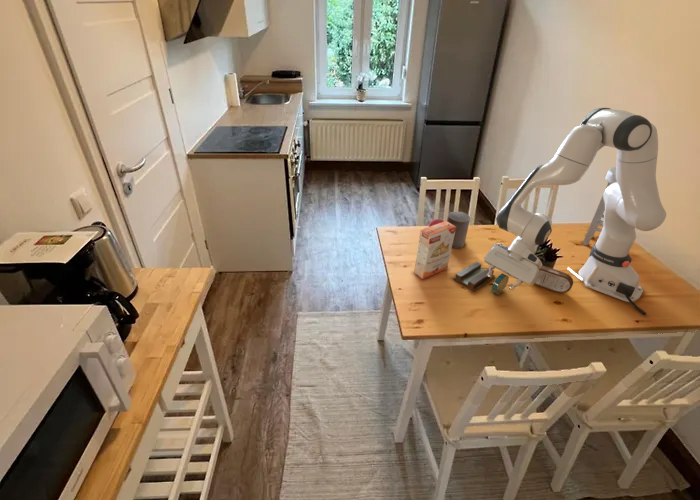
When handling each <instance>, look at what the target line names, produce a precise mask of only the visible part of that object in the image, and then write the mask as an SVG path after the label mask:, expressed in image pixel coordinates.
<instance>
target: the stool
mask: <svg viewBox="0 0 700 500" xmlns="http://www.w3.org/2000/svg"><path fill="white" fill-rule="evenodd" d="M604 179H605V181H607V185H606V187H605V189H606V188H607V187H608V186H609V185H611V184H612V183H615V182H617V180H616V166H613V167H610V168H609V169H608V170H607V173H606V175H605V177H604ZM604 214H605V202H604V198H603V195H602V196H601V199H600V200H599V203H598V205H597V208H596V210H595V213H594V215H593V217H592V219H591V221H590V225H589V227H588V229H587V231H586V234H585V236H584V239H583V241H582V243H581V244H582V245H583V246H588V245H589V244H590V241H591V239H593V238H594V236H595V234H596V232H600V233H601V231H602V228H600V227H599V226H601V227H603V223H604V220H602V218H603V219H604Z"/></svg>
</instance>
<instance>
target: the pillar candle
mask: <svg viewBox="0 0 700 500" xmlns="http://www.w3.org/2000/svg"><path fill="white" fill-rule="evenodd" d="M470 220H471V216H470V215H469V214H467V213H466V212H463V211H451V212H449V213H448V215H447V218H446V221H447V222H449V223H451V224H452V225H454V226H456V231H455V235H454V240H453V244H452V248H454V249H460V248H462V247H464V246H465V244H466V238H467V235H468V232H469V231H468V229H469V225H470V222H471V221H470Z"/></svg>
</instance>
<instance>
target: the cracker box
mask: <svg viewBox="0 0 700 500" xmlns="http://www.w3.org/2000/svg"><path fill="white" fill-rule="evenodd" d="M455 231H456V226H454V225H452V224H451V223H449V222H447V220H444V222H442V223H439V224H436V225H433V226H430V227H429V226H428V227H424V228H421V229H420V232H419V239H418V245H417V251H416V258H415V264H414V271H413V273H414V274H415V275H417V277H419V278H420V279H422V280H425V279H428V278H429V277H432V276H434V275H436V274H439V273H441V272H444V271H446V270H447V269H448V266H449V262H450V257H451V253H452V248H453V247H452V244H453V240H454V235H455Z"/></svg>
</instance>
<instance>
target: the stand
mask: <svg viewBox="0 0 700 500" xmlns="http://www.w3.org/2000/svg"><path fill="white" fill-rule="evenodd" d="M488 272H489V268H487V269H485V268H482V263H481V262H478V261H475V262H473V263H471V264H470V265H468V266H467V267H465V268H464V269H462V270H460V271H459V272H457V273H455V276H453V277H452V279H453V280H454V281H456V282H458V283H459V284H461V285H463V286H464V287H466V288H468V289H470V290H471V291H472V292H476V291H477V290H478V289H480V288H481V287H482V286H484V285H485V284H487V283H489V282H490V281H492V280H493V279H494V278H495V275H494V273H495V269H494V270H493V269H492V274H493V276H492V278H489V277H487V274H488Z"/></svg>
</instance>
